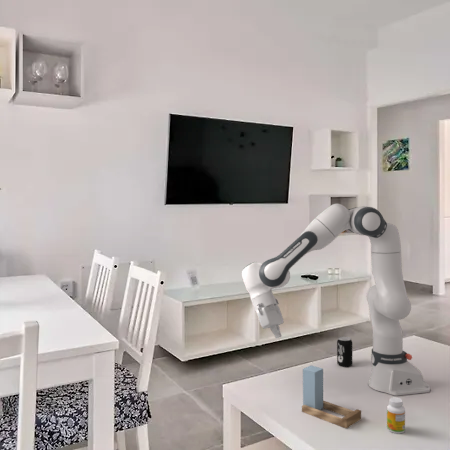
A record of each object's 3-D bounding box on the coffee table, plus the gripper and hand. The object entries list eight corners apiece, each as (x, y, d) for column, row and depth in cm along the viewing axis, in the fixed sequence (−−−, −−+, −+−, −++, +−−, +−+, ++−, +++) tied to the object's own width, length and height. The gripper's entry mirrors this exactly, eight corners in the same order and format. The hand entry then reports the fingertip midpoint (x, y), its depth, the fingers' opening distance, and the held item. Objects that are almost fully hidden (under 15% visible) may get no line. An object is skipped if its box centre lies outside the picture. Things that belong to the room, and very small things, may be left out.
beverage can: (352, 367, 205) (352, 340, 204) (337, 367, 206) (337, 340, 206) (351, 362, 211) (351, 336, 211) (336, 362, 213) (336, 335, 212)
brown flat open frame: (301, 411, 163) (301, 403, 162) (317, 403, 169) (317, 395, 169) (346, 428, 150) (346, 419, 150) (361, 419, 156) (361, 410, 156)
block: (303, 408, 165) (302, 368, 164) (311, 403, 168) (311, 365, 168) (314, 412, 161) (314, 372, 160) (323, 408, 165) (323, 368, 164)
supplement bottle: (384, 426, 151) (384, 396, 151) (400, 425, 152) (400, 395, 151) (391, 434, 146) (391, 403, 145) (408, 433, 146) (408, 402, 146)
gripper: (264, 300, 171) (279, 336, 167) (278, 300, 190) (292, 332, 186) (249, 307, 173) (263, 343, 169) (264, 306, 192) (278, 338, 188)
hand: (278, 337), depth 178 cm, fingers closed
